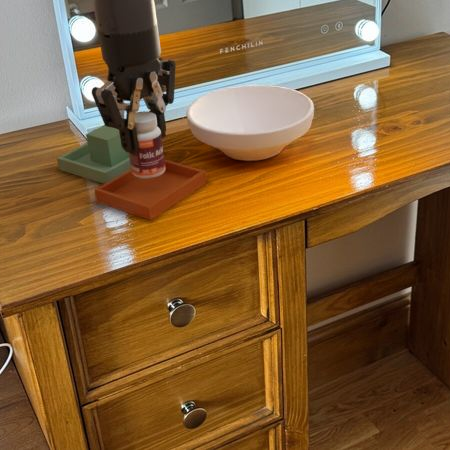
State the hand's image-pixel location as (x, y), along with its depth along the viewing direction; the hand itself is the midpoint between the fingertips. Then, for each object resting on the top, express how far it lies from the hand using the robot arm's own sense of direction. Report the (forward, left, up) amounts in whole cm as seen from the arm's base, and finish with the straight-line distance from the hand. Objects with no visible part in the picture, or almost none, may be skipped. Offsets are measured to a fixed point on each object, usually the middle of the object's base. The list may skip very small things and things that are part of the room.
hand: (145, 143), depth 106 cm
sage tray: (+4, +12, -8) cm, 15 cm away
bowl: (+18, -5, -8) cm, 21 cm away
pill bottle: (0, 0, -5) cm, 5 cm away
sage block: (+5, +12, -7) cm, 15 cm away
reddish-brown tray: (0, 0, -8) cm, 8 cm away
